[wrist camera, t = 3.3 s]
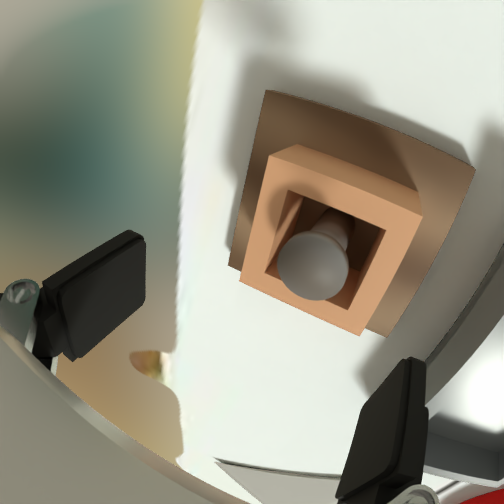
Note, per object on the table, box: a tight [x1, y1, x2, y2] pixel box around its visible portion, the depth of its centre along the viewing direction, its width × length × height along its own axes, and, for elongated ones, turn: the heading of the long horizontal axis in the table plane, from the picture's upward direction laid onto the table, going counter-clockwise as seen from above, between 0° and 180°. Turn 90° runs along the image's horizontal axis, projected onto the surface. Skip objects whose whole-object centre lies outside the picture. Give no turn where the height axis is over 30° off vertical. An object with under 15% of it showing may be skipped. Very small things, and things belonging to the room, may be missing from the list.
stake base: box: [228, 90, 476, 338], centre depth 16 cm, size 12×12×7 cm
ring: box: [239, 144, 423, 336], centre depth 16 cm, size 7×7×4 cm
